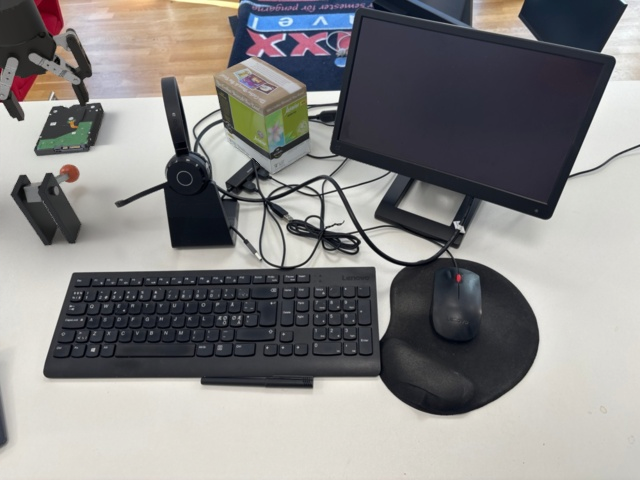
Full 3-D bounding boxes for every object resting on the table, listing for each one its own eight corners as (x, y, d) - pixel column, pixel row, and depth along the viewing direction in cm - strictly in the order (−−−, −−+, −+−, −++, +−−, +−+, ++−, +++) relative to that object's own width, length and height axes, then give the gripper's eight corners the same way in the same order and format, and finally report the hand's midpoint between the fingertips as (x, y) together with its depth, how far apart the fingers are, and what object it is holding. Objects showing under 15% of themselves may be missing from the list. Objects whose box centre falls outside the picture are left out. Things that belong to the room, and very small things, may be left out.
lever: (66, 180, 92) (62, 163, 91) (84, 179, 92) (80, 161, 91) (24, 205, 78) (18, 184, 77) (45, 203, 78) (40, 183, 77)
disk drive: (56, 117, 111) (38, 161, 101) (51, 106, 109) (32, 150, 99) (105, 112, 111) (92, 156, 102) (100, 101, 109) (87, 144, 99)
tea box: (312, 152, 100) (308, 84, 89) (272, 176, 96) (262, 108, 84) (264, 119, 107) (254, 52, 96) (225, 140, 103) (210, 74, 92)
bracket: (50, 219, 90) (15, 163, 81) (96, 216, 91) (66, 159, 81) (33, 264, 84) (-8, 208, 74) (83, 260, 84) (48, 204, 74)
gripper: (57, -27, 65) (102, 86, 78) (-66, -6, 63) (1, 108, 75) (58, -3, 61) (106, 114, 73) (-75, 21, 58) (-2, 138, 70)
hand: (53, 111), depth 74 cm, fingers open, 8 cm apart
